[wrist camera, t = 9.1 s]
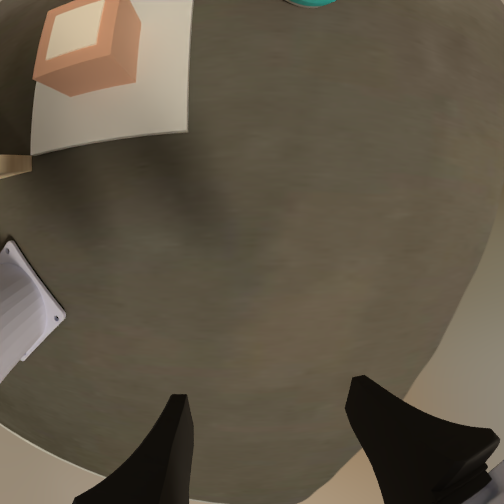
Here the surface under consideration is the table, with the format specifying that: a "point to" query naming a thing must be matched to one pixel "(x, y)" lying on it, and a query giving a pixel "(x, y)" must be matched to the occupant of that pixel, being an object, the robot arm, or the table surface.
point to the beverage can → (310, 3)
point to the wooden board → (14, 165)
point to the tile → (126, 89)
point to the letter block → (88, 46)
